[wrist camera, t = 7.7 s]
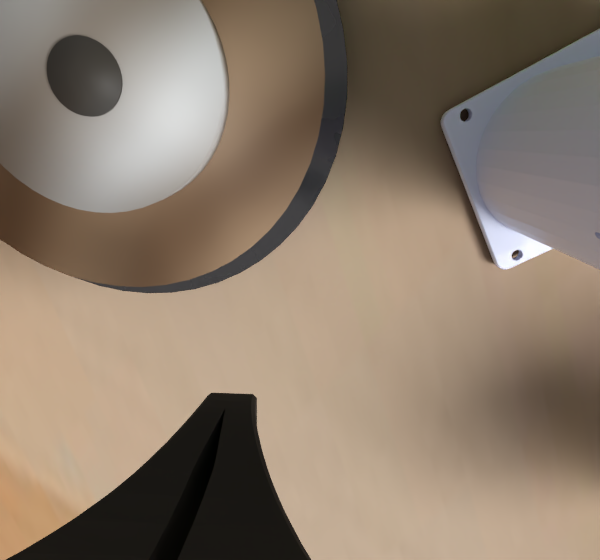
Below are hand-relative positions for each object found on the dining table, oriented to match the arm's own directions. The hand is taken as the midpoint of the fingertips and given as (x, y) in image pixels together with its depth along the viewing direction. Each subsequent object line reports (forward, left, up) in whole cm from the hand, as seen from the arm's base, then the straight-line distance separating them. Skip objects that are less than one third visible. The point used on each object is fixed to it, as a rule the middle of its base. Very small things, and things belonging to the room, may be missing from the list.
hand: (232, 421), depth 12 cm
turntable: (0, -11, -8) cm, 14 cm away
